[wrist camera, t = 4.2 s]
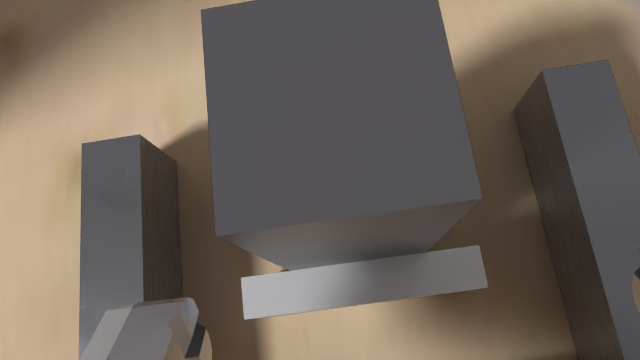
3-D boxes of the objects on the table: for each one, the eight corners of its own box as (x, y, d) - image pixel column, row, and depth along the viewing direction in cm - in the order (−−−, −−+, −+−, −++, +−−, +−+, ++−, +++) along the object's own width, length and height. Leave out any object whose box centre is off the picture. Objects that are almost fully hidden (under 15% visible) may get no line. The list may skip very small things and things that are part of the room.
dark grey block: (253, 176, 18) (118, 24, 8) (437, 148, 17) (520, -47, 8) (266, 317, 16) (121, 331, 7) (467, 290, 16) (613, 267, 6)
